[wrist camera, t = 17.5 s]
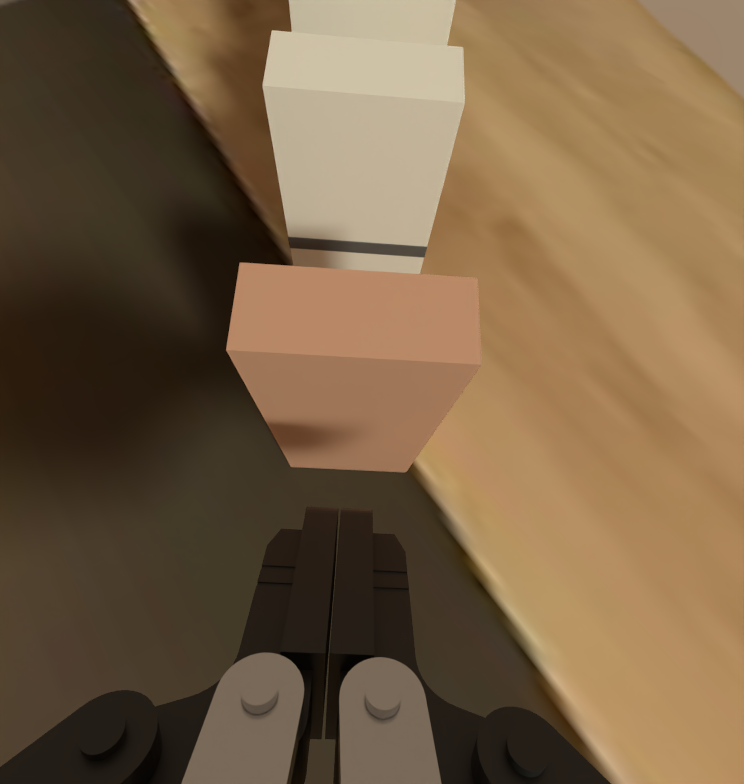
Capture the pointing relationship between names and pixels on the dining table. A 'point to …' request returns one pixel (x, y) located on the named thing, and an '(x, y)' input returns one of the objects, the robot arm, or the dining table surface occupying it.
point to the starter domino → (353, 359)
